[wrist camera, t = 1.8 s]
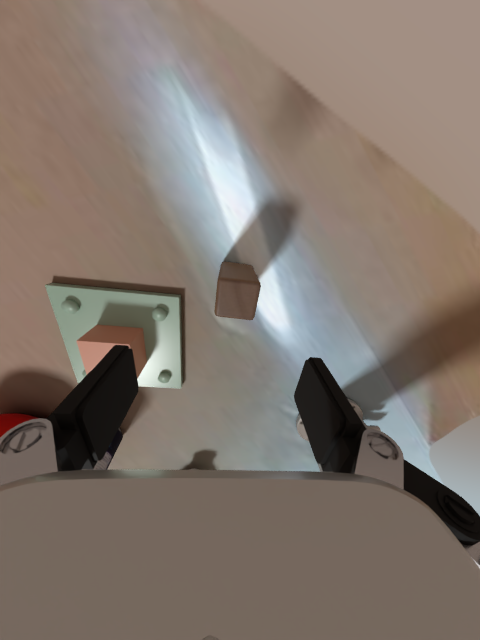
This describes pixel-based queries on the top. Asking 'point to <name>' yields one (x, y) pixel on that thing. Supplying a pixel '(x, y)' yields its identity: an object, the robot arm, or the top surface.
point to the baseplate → (127, 311)
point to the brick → (111, 345)
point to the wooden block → (237, 291)
